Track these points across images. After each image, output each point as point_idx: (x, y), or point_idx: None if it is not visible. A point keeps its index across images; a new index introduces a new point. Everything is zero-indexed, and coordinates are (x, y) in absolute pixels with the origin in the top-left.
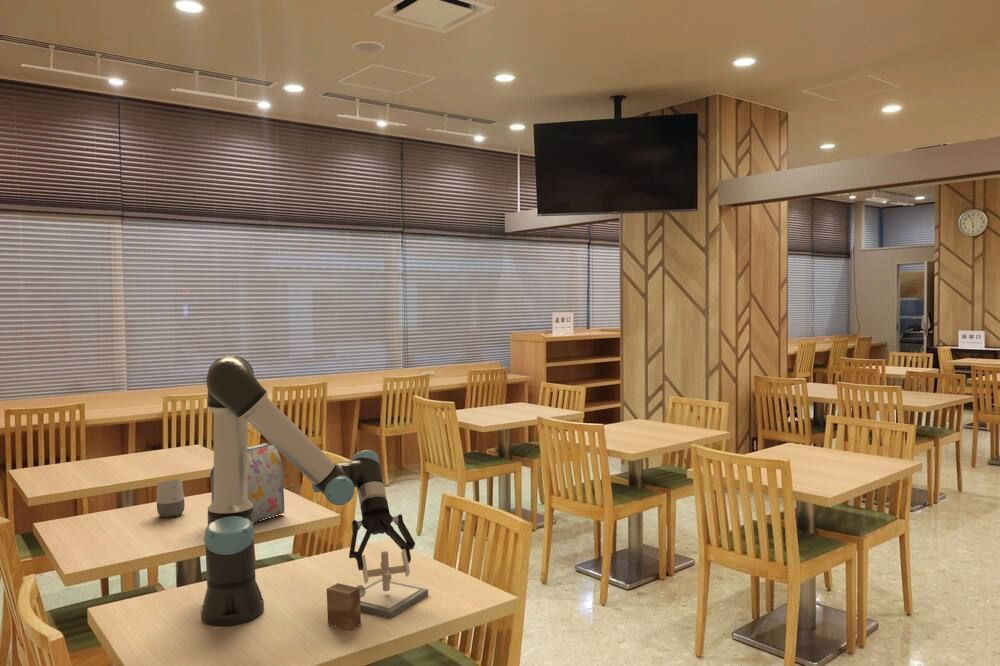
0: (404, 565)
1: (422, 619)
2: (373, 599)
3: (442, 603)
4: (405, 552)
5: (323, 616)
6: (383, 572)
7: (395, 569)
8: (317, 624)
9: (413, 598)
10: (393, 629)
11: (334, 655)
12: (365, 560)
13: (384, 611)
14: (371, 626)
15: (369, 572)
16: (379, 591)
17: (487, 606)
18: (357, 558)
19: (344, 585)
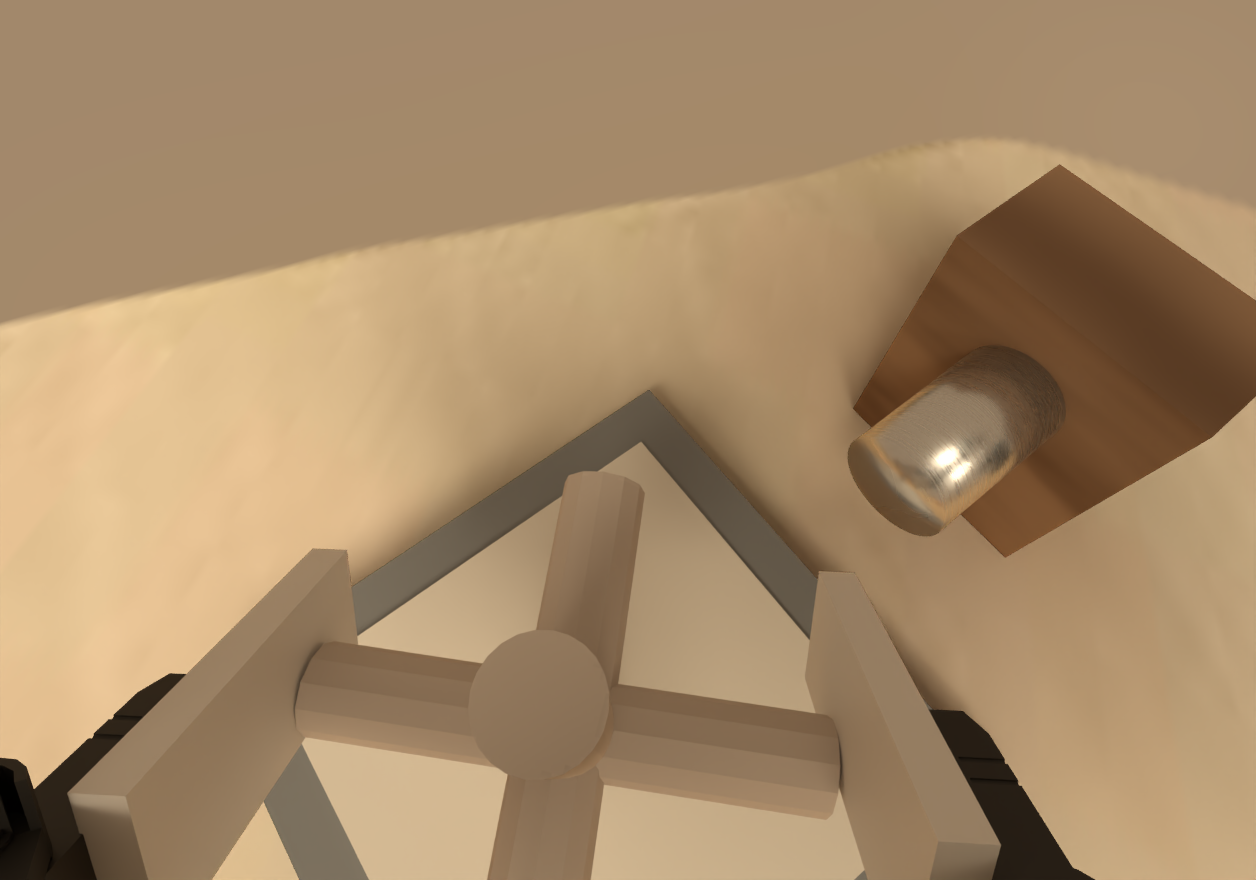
0: (296, 691)
1: (472, 318)
2: (725, 661)
3: (239, 479)
4: (138, 736)
5: (1134, 653)
6: (621, 615)
7: (446, 659)
8: (1161, 530)
9: (408, 549)
10: (672, 273)
11: (1011, 151)
12: (897, 745)
13: (684, 430)
14: (790, 355)
15: (791, 719)
16: (632, 838)
17: (39, 318)
18: (1063, 857)
19: (1120, 345)
